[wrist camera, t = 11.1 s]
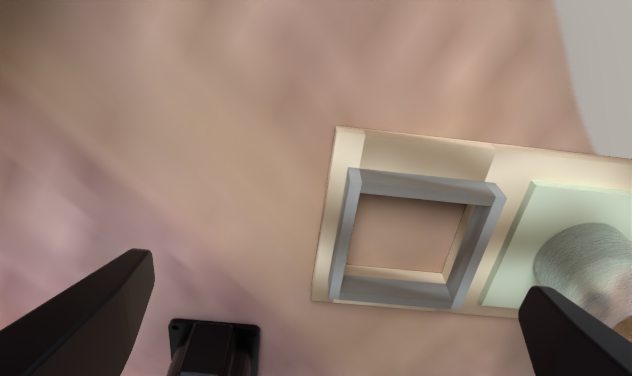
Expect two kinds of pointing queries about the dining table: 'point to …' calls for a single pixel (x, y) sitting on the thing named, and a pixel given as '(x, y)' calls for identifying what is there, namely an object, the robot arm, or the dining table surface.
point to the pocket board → (477, 221)
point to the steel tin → (591, 272)
